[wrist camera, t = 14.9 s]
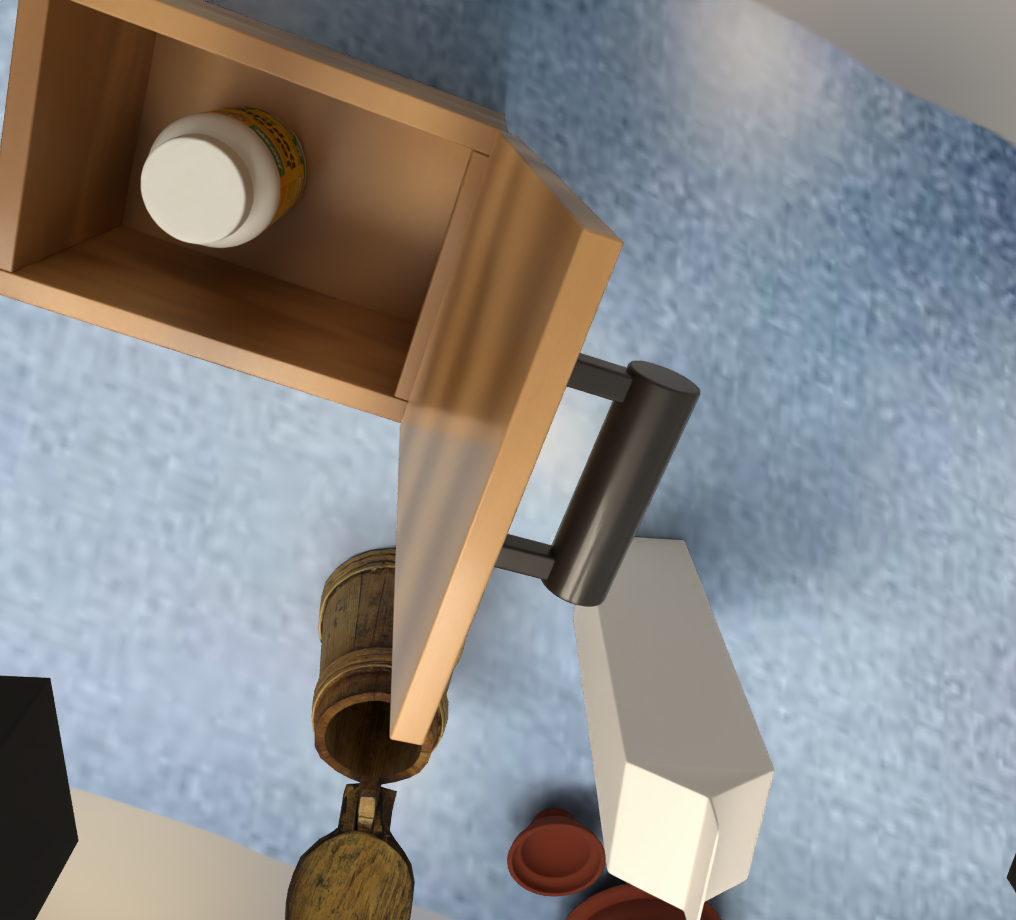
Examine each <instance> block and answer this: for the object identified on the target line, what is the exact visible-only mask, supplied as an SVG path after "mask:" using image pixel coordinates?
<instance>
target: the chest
mask: <svg viewBox="0 0 1016 920" xmlns="http://www.w3.org/2000/svg"><path fill="white" fill-rule="evenodd" d="M239 106H244V107H255V108H260V109H263V110H266V111H268V112H270V113H272V114H274V115H275V116H277V117H278V118H280V119H281V120H282V121H284V122H285V123H286V124H287V125H288V126H289V127H290V128H291V130H292V131H293V132H294V133H295V135H296V136H297V138H298V140H299V141H300V144H301V146H302V149H303V152H304V156H305V161H306V181H305V186H304V190H303V192H302V194H301V196H300V198H299V200H298V201H297V203H296V204H295V205H294V206H293V208H292V209H291V210H290V211H288V212H287V213H286V214H285V215H284V216H282V217H281V218H280V219H278V220H277V221H276V222H274V223H273V224H272V225H271V226H269V227H268V228H267V229H266V230H264V231H263V232H262V233H261V234H259V235H258V236H256V237H255V238H253V239H252V240H250V241H248V242H246V243H243V244H241V245H238V246H234V247H226V248H215V247H208V246H204V245H200V244H193V243H188V242H184V241H181V240H178V239H176V238H174V237H173V236H171V235H169V234H168V233H166V232H165V231H164V230H163V229H161V228H160V227H159V226H158V225H157V223H156V222H155V221H154V220H153V218H152V217H151V216H150V214H149V212H148V211H147V209H146V206H145V204H144V201H143V198H142V193H141V173H142V169H143V166H144V164H145V162H146V160H147V158H148V156H149V153H150V150H151V148H152V145H153V143H154V142H155V140H156V138H157V137H158V136H159V134H160V133H161V132H162V131H163V130H164V129H165V128H166V127H167V126H169V125H170V124H171V123H173V122H174V121H176V120H178V119H180V118H182V117H185V116H187V115H191V114H195V113H200V112H207V111H212V110H218V109H223V108H229V107H239ZM498 130H502V131H505V132H507V126H506V120H505V115H504V114H502V113H499V112H497V111H494V110H492V109H489V108H486V107H484V106H481V105H478V104H476V103H473V102H470V101H468V100H465V99H462V98H460V97H457V96H455V95H452V94H449V93H447V92H444V91H441V90H439V89H436V88H433V87H431V86H428V85H425V84H423V83H420V82H418V81H415V80H412V79H410V78H407V77H404V76H402V75H399V74H396V73H394V72H391V71H388V70H386V69H383V68H381V67H378V66H375V65H373V64H370V63H367V62H365V61H362V60H359V59H357V58H354V57H351V56H349V55H346V54H344V53H341V52H338V51H336V50H333V49H330V48H328V47H325V46H322V45H320V44H317V43H314V42H312V41H309V40H307V39H304V38H301V37H299V36H296V35H293V34H291V33H288V32H285V31H283V30H280V29H277V28H275V27H272V26H270V25H267V24H264V23H262V22H259V21H256V20H254V19H251V18H248V17H246V16H243V15H240V14H238V13H235V12H233V11H230V10H227V9H225V8H222V7H219V6H217V5H214V4H211V3H209V2H206V1H203V0H19V2H18V10H17V18H16V26H15V34H14V42H13V50H12V58H11V66H10V74H9V82H8V90H7V98H6V106H5V114H4V122H3V130H2V138H1V146H0V295H3V296H6V297H9V298H12V299H15V300H18V301H21V302H25V303H28V304H31V305H34V306H37V307H40V308H43V309H46V310H50V311H53V312H56V313H59V314H62V315H65V316H68V317H71V318H75V319H78V320H81V321H84V322H87V323H90V324H93V325H96V326H99V327H103V328H106V329H109V330H112V331H115V332H118V333H121V334H124V335H128V336H131V337H134V338H137V339H140V340H143V341H146V342H149V343H153V344H156V345H159V346H162V347H165V348H168V349H171V350H174V351H178V352H181V353H184V354H187V355H190V356H193V357H196V358H199V359H203V360H206V361H209V362H212V363H215V364H218V365H221V366H224V367H227V368H231V369H234V370H237V371H240V372H243V373H246V374H249V375H252V376H256V377H259V378H262V379H265V380H268V381H271V382H274V383H277V384H281V385H284V386H287V387H290V388H293V389H296V390H299V391H302V392H306V393H309V394H312V395H315V396H318V397H321V398H324V399H327V400H331V401H334V402H337V403H340V404H343V405H346V406H349V407H352V408H355V409H359V410H362V411H365V412H368V413H371V414H374V415H377V416H380V417H384V418H387V419H390V420H393V421H396V422H399V423H401V422H402V419H403V416H404V413H405V410H406V407H407V404H408V401H409V398H410V395H411V392H412V389H413V386H414V383H415V380H416V377H417V374H418V371H419V368H420V365H421V362H422V359H423V356H424V352H425V349H426V346H427V343H428V340H429V337H430V334H431V331H432V328H433V325H434V322H435V319H436V316H437V313H438V310H439V307H440V304H441V301H442V298H443V295H444V292H445V289H446V286H447V283H448V280H449V277H450V274H451V271H452V268H453V264H454V261H455V258H456V255H457V252H458V249H459V246H460V243H461V240H462V237H463V234H464V231H465V228H466V225H467V222H468V219H469V216H470V213H471V210H472V207H473V204H474V201H475V198H476V195H477V192H478V189H479V186H480V183H481V180H482V176H483V173H484V170H485V167H486V164H487V161H488V158H489V155H490V152H491V149H492V146H493V143H494V140H495V137H496V134H497V131H498ZM507 133H508V132H507Z"/></svg>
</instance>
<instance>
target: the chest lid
mask: <svg viewBox="0 0 1016 920" xmlns="http://www.w3.org/2000/svg"><path fill="white" fill-rule="evenodd" d="M622 246H623V241H622V240H621V239H620V238H619V237H618V236H617V235H616V234H615V233H614V232H613V231H612V230H611V229H610V228H609V227H608V226H607V225H606V224H605V223H604V222H603V221H602V220H601V219H600V218H599V217H598V216H597V215H596V214H595V213H594V212H593V211H592V210H591V209H590V208H589V207H588V206H587V205H586V204H585V203H584V202H583V201H582V200H581V199H580V198H579V197H578V196H577V195H576V194H575V193H574V192H573V191H572V190H571V189H570V188H569V187H568V186H567V185H566V184H565V183H564V182H563V181H562V180H561V179H560V178H559V177H558V176H557V175H556V174H555V173H554V172H553V171H552V170H551V169H550V168H549V167H548V166H547V165H546V164H545V163H544V162H543V161H542V160H541V159H540V158H539V157H538V156H537V155H536V154H535V153H534V152H533V151H532V150H531V149H530V148H529V147H528V146H527V145H526V144H525V143H524V142H523V141H522V140H521V139H520V138H519V137H518V136H515V135H513V134H510V133H507V132H505V131H502V130H498V131H497V134H496V137H495V140H494V143H493V146H492V149H491V152H490V155H489V158H488V161H487V164H486V167H485V170H484V173H483V176H482V180H481V183H480V186H479V189H478V192H477V195H476V198H475V201H474V204H473V207H472V210H471V213H470V216H469V219H468V222H467V225H466V228H465V231H464V234H463V237H462V240H461V243H460V246H459V249H458V252H457V255H456V258H455V261H454V264H453V268H452V271H451V274H450V277H449V280H448V283H447V286H446V289H445V292H444V295H443V298H442V301H441V304H440V307H439V310H438V313H437V316H436V319H435V322H434V325H433V328H432V331H431V334H430V337H429V340H428V343H427V346H426V349H425V352H424V356H423V359H422V362H421V365H420V368H419V371H418V374H417V377H416V380H415V383H414V386H413V389H412V392H411V395H410V398H409V401H408V404H407V407H406V410H405V413H404V416H403V419H402V422H401V425H400V439H399V469H398V499H397V530H396V560H395V590H394V621H393V651H392V681H391V712H390V739H392V740H397V741H402V742H407V743H412V744H417V745H422V744H423V743H424V741H425V738H426V736H427V733H428V731H429V728H430V726H431V723H432V721H433V718H434V716H435V713H436V711H437V708H438V706H439V703H440V701H441V698H442V696H443V693H444V691H445V688H446V686H447V683H448V681H449V678H450V676H451V673H452V671H453V668H454V666H455V663H456V661H457V658H458V656H459V653H460V651H461V648H462V646H463V643H464V641H465V638H466V636H467V633H468V631H469V628H470V626H471V623H472V621H473V618H474V616H475V613H476V611H477V608H478V606H479V603H480V601H481V598H482V596H483V593H484V591H485V588H486V586H487V583H488V581H489V578H490V576H491V573H492V571H493V568H494V567H496V568H500V569H504V570H508V571H512V572H516V573H520V574H524V575H528V576H532V577H536V578H540V579H541V580H542V582H543V584H544V585H545V586H546V588H547V589H548V590H549V591H551V592H552V593H553V594H555V595H556V596H557V597H559V598H561V599H563V600H565V601H567V602H569V603H572V604H575V605H579V606H584V607H594V606H598V605H600V604H602V603H603V602H604V601H605V599H606V597H607V594H608V592H609V590H610V588H611V586H612V584H613V581H614V579H615V577H616V575H617V573H618V571H619V569H620V566H621V564H622V562H623V560H624V558H625V556H626V553H627V551H628V549H629V547H630V545H631V543H632V541H633V538H634V536H635V534H636V532H637V530H638V528H639V525H640V523H641V521H642V519H643V517H644V515H645V513H646V510H647V508H648V506H649V504H650V502H651V500H652V497H653V495H654V493H655V491H656V489H657V487H658V484H659V482H660V480H661V478H662V476H663V474H664V472H665V469H666V467H667V465H668V463H669V461H670V459H671V456H672V454H673V452H674V450H675V448H676V446H677V444H678V441H679V439H680V437H681V435H682V433H683V431H684V428H685V426H686V424H687V422H688V420H689V418H690V416H691V413H692V411H693V409H694V407H695V405H696V403H697V400H698V398H699V396H700V389H699V388H698V387H697V386H696V385H695V384H694V383H693V382H692V381H690V380H689V379H687V378H686V377H684V376H682V375H680V374H678V373H676V372H674V371H672V370H670V369H667V368H665V367H662V366H659V365H656V364H653V363H649V362H645V361H631V362H630V363H629V364H628V366H627V368H626V367H623V366H620V365H616V364H613V363H610V362H607V361H604V360H601V359H598V358H594V357H591V356H588V355H585V354H582V353H580V351H581V349H582V346H583V344H584V341H585V339H586V336H587V334H588V331H589V329H590V326H591V324H592V321H593V319H594V316H595V314H596V311H597V309H598V306H599V304H600V301H601V299H602V296H603V294H604V291H605V289H606V286H607V284H608V281H609V279H610V276H611V274H612V271H613V269H614V266H615V264H616V261H617V259H618V256H619V254H620V251H621V249H622ZM566 386H567V387H570V388H574V389H577V390H580V391H583V392H587V393H590V394H593V395H596V396H600V397H603V398H606V399H609V400H613V402H612V404H611V406H610V409H609V411H608V413H607V416H606V418H605V420H604V423H603V425H602V427H601V430H600V432H599V435H598V437H597V439H596V442H595V444H594V446H593V449H592V451H591V453H590V456H589V458H588V460H587V463H586V465H585V468H584V470H583V472H582V475H581V477H580V479H579V482H578V484H577V486H576V489H575V491H574V493H573V496H572V498H571V500H570V503H569V505H568V508H567V510H566V512H565V515H564V517H563V519H562V522H561V524H560V526H559V529H558V531H557V533H556V536H555V538H554V541H553V543H552V545H548V544H544V543H540V542H537V541H533V540H529V539H525V538H521V537H518V536H514V535H510V534H507V533H508V531H509V528H510V526H511V523H512V521H513V518H514V516H515V513H516V511H517V508H518V506H519V503H520V501H521V499H522V496H523V494H524V491H525V489H526V486H527V484H528V481H529V479H530V476H531V474H532V471H533V469H534V466H535V464H536V461H537V459H538V456H539V454H540V451H541V449H542V446H543V444H544V441H545V439H546V436H547V434H548V431H549V429H550V426H551V424H552V421H553V419H554V416H555V414H556V411H557V409H558V406H559V404H560V401H561V399H562V396H563V394H564V391H565V389H566Z"/></svg>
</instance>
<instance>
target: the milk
mask: <svg viewBox="0 0 1016 920" xmlns="http://www.w3.org/2000/svg"><path fill="white" fill-rule="evenodd" d="M573 622H574V629H575V637H576V644H577V651H578V658H579V666H580V673H581V680H582V688H583V695H584V702H585V710H586V717H587V724H588V731H589V739H590V746H591V753H592V761H593V768H594V775H595V783H596V790H597V797H598V804H599V812H600V819H601V826H602V834H603V841H604V848H605V856H606V863H607V870H608V872H609V873H610V874H612V875H614V876H616V877H618V878H620V879H622V880H624V881H626V882H628V883H630V884H632V885H633V886H635V887H637V888H639V889H641V890H643V891H645V892H647V893H649V894H651V895H653V896H655V897H657V898H659V899H661V900H663V901H665V902H667V903H669V904H671V905H673V906H675V907H677V908H679V909H681V910H683V911H684V913H685V916H686V920H700V918H701V913H702V909H703V905H704V902H705V901H707V900H709V899H711V898H713V897H715V896H717V895H718V894H720V893H722V892H724V891H726V890H728V889H730V888H732V887H734V886H736V885H738V884H739V883H741V882H743V881H745V880H746V879H747V877H748V874H749V870H750V866H751V862H752V858H753V854H754V850H755V847H756V843H757V839H758V835H759V831H760V827H761V823H762V819H763V815H764V811H765V807H766V803H767V799H768V795H769V791H770V787H771V783H772V779H773V775H774V767H773V765H772V762H771V760H770V757H769V754H768V752H767V749H766V747H765V744H764V742H763V739H762V737H761V734H760V732H759V729H758V726H757V724H756V721H755V719H754V716H753V714H752V711H751V709H750V706H749V704H748V701H747V699H746V696H745V693H744V691H743V688H742V686H741V683H740V681H739V678H738V676H737V673H736V671H735V668H734V665H733V663H732V660H731V658H730V655H729V653H728V650H727V648H726V645H725V643H724V640H723V637H722V635H721V632H720V630H719V627H718V625H717V622H716V620H715V617H714V615H713V612H712V609H711V607H710V604H709V602H708V599H707V597H706V594H705V592H704V589H703V587H702V584H701V581H700V579H699V576H698V574H697V571H696V569H695V566H694V564H693V561H692V559H691V556H690V553H689V551H688V548H687V546H686V543H685V541H683V540H672V539H656V538H641V537H634V538H633V541H632V543H631V545H630V547H629V549H628V551H627V553H626V556H625V558H624V560H623V562H622V564H621V566H620V569H619V571H618V573H617V575H616V577H615V579H614V581H613V584H612V586H611V588H610V590H609V592H608V594H607V597H606V599H605V601H604V602H603V603H602V604H600V605H598V606H594V607H584V606H579V605H575V609H574V616H573Z"/></svg>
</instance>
